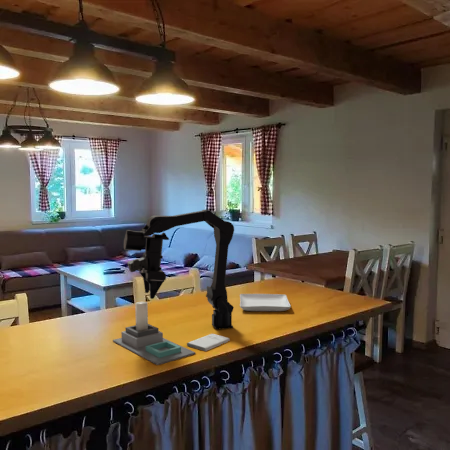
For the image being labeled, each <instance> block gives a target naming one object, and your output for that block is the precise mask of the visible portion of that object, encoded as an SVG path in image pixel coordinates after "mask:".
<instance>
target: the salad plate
mask: <svg viewBox="0 0 450 450" xmlns="http://www.w3.org/2000/svg"><path fill="white" fill-rule="evenodd" d="M239 302H240V303H239V307H240V308H241V309H242V310H243V311H246V312H284V311H287V310H290V308H291V307H292V306H291V304H290V301H289V299H288V296H287V294H280V293H279V294H278V293H240V294H239Z"/></svg>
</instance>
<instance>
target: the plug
mask: <svg viewBox="0 0 450 450" xmlns="http://www.w3.org/2000/svg"><path fill="white" fill-rule="evenodd" d="M134 305H135V325H136V331H138V332H140V331H144V330H148V324H149V319H148V318H149V315H148V310H149V309H148V307H149V306H148V301H137V302H135V304H134Z"/></svg>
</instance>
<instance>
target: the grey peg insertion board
mask: <svg viewBox="0 0 450 450" xmlns="http://www.w3.org/2000/svg"><path fill="white" fill-rule="evenodd" d="M124 328H125V330H124V331H123V330H122V331H121V337H120V338H119V337H118V338H115V339H112V342H113V343H114V344H117V345H118V346H121V347H123V348H124V349H126V350H129V352H132V353H134V354H135V355H137V356H140V357H141V358H143V359H145V360H147V361H148V362H151V363H153V364H154V365H156V366H161V365H163V364H166V363H170V362H173V361H176V360H180V359H184V358H186V357H190V356H192V355H196V351H193V350H191V349H189V348H187V347H184V346H182V345H180V344H177V343H175V342H173V341H171V340H169V339H167V338H165V337H164V335H163V334H164V333H163V332H162V331H159V330H160V329H159V327H157V326H155V325H152V324H149V323H148V330H144V331H140V332H138V331H136V324H135V325H132V326H126V327H124ZM183 357H184V358H183Z"/></svg>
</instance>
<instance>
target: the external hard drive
mask: <svg viewBox="0 0 450 450" xmlns="http://www.w3.org/2000/svg"><path fill="white" fill-rule="evenodd" d="M230 339H231V338H230V337H227V336H223V335H220V334H219V335H218V334H215V333H209V334H207V335H205V336H202V337H199V338H197V339H194V340H191V341H189V342H187V343H186V346H187V347H190V348H193V349H197V350H200V351H202V352H203V351H204V352H207V351H209V350H211V349H214V348H216V347H219V346H222V345H224V344H226V343H229V342H230ZM228 341H229V342H228ZM223 343H224V344H223ZM221 344H222V345H221Z"/></svg>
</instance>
